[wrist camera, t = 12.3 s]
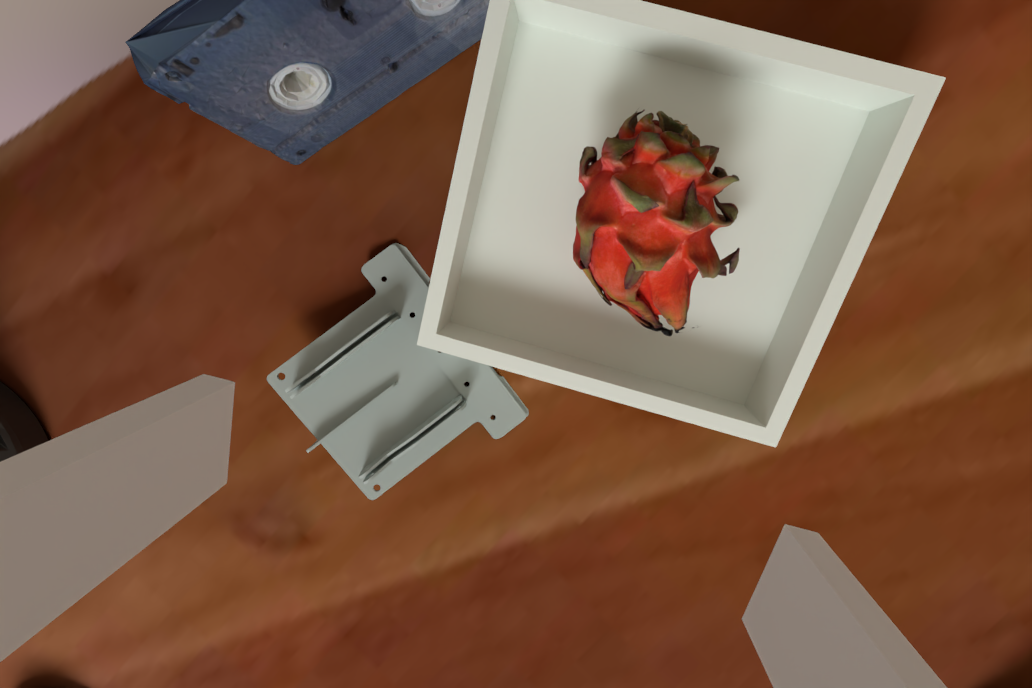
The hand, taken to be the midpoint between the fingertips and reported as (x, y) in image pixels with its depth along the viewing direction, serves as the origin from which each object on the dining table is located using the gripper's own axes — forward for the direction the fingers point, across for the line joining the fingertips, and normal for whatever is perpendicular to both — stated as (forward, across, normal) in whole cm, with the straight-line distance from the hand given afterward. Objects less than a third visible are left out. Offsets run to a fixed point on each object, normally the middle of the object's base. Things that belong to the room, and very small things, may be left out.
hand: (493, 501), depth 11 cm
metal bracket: (+22, -8, -7) cm, 25 cm away
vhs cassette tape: (+22, -12, +13) cm, 28 cm away
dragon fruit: (+21, +5, +7) cm, 22 cm away
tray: (+21, +5, +7) cm, 23 cm away
